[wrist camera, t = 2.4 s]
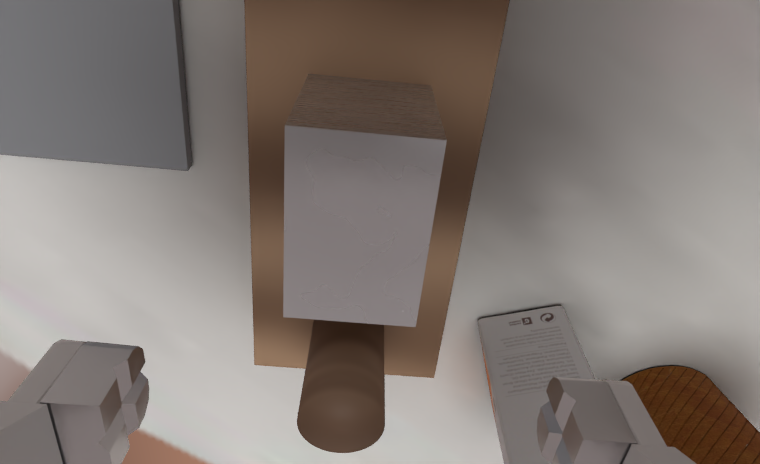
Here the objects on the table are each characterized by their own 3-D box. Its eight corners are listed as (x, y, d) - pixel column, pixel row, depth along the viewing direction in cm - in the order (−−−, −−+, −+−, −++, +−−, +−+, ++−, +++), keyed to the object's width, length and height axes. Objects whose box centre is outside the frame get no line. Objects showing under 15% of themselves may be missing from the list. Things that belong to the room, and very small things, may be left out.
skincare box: (473, 317, 27) (532, 574, 16) (562, 301, 26) (681, 557, 16) (488, 402, 30) (546, 666, 19) (568, 390, 29) (672, 654, 19)
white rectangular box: (308, 73, 18) (284, 125, 13) (431, 85, 18) (446, 140, 13) (304, 232, 21) (283, 317, 16) (408, 241, 21) (415, 327, 16)
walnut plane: (260, -189, 17) (174, -263, 10) (519, -159, 17) (613, -208, 10) (266, 321, 27) (226, 463, 20) (428, 333, 27) (445, 477, 20)
